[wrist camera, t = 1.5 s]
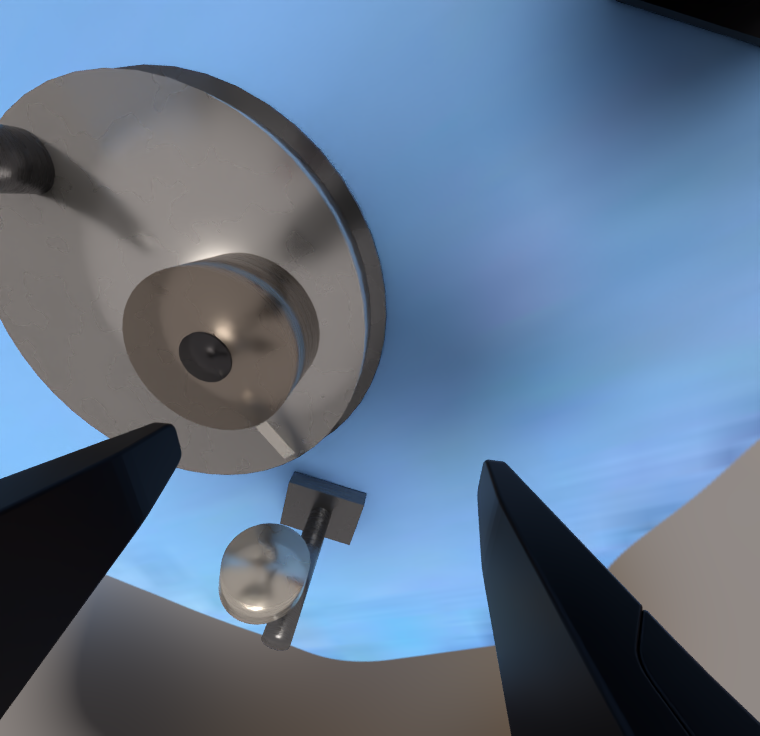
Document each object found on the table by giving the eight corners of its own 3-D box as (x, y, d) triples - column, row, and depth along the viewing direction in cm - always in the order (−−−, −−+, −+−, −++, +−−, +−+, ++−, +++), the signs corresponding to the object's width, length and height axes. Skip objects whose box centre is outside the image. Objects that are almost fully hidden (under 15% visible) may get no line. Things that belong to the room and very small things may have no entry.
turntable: (423, 163, 14) (418, 140, 9) (328, 488, 23) (297, 576, 17) (-21, 22, 14) (-293, -86, 9) (48, 400, 23) (-70, 462, 17)
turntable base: (444, 150, 15) (445, 149, 14) (338, 493, 24) (337, 496, 23) (-28, 1, 14) (-36, -3, 14) (47, 402, 24) (43, 404, 23)
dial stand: (371, 479, 23) (339, 633, 15) (352, 532, 25) (315, 689, 17) (283, 452, 23) (201, 590, 15) (272, 507, 25) (196, 653, 17)
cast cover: (333, 279, 15) (305, 301, 12) (305, 404, 18) (277, 451, 14) (185, 232, 15) (113, 241, 12) (181, 365, 18) (123, 403, 14)
